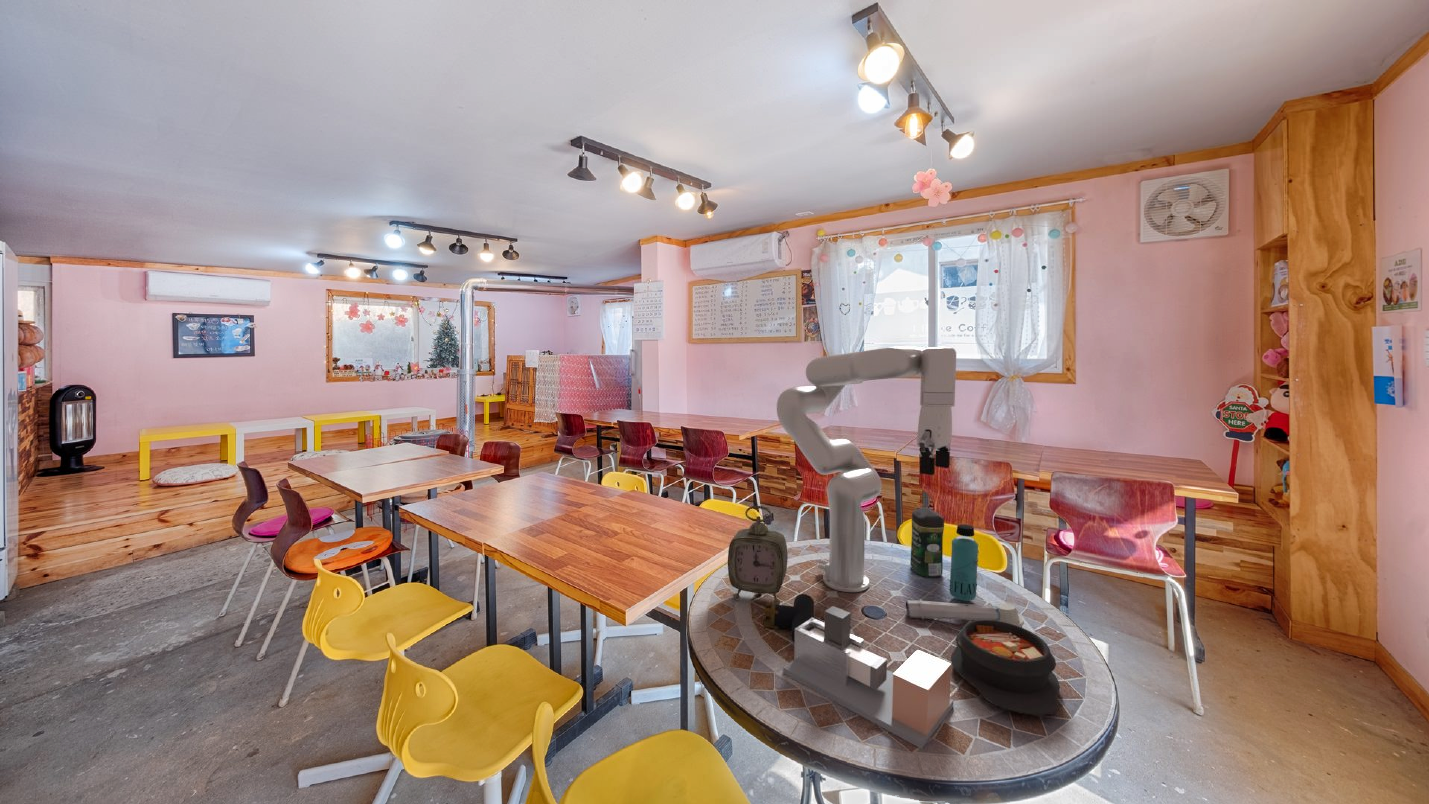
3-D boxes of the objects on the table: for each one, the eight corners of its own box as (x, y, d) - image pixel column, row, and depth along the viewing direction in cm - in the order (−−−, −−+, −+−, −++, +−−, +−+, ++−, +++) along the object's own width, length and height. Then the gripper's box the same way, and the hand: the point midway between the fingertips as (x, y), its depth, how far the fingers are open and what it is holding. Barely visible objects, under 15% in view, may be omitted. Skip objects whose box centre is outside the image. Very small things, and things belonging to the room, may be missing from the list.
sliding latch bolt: (803, 653, 104) (804, 604, 103) (814, 645, 107) (815, 597, 106) (876, 689, 92) (877, 634, 91) (886, 679, 95) (887, 626, 94)
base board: (783, 673, 101) (783, 667, 101) (821, 644, 111) (821, 639, 111) (921, 749, 82) (921, 742, 82) (953, 706, 92) (953, 700, 92)
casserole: (938, 639, 114) (939, 603, 113) (1029, 648, 110) (1031, 612, 109) (969, 716, 89) (971, 671, 88) (1088, 732, 85) (1091, 686, 85)
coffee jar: (906, 564, 154) (908, 505, 152) (932, 564, 153) (934, 505, 152) (918, 578, 144) (920, 515, 142) (946, 578, 144) (948, 515, 142)
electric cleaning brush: (905, 595, 126) (1018, 597, 118) (908, 621, 126) (1021, 625, 118) (905, 605, 121) (1024, 608, 113) (909, 632, 122) (1027, 636, 113)
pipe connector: (762, 620, 112) (768, 589, 127) (761, 642, 113) (767, 609, 128) (814, 626, 110) (814, 594, 125) (813, 649, 111) (813, 614, 125)
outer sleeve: (794, 659, 104) (794, 629, 103) (811, 646, 109) (812, 617, 108) (845, 686, 96) (846, 653, 95) (862, 671, 100) (863, 639, 100)
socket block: (891, 717, 87) (893, 673, 87) (916, 690, 94) (917, 649, 94) (926, 735, 83) (928, 690, 82) (949, 705, 90) (951, 663, 89)
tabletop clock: (727, 602, 131) (727, 508, 129) (736, 586, 140) (736, 498, 137) (783, 609, 127) (783, 513, 124) (788, 593, 135) (789, 502, 133)
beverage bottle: (949, 604, 129) (952, 528, 127) (947, 592, 135) (950, 520, 134) (977, 608, 127) (981, 531, 125) (975, 597, 133) (978, 523, 131)
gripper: (934, 396, 128) (932, 462, 129) (906, 401, 115) (904, 474, 117) (966, 398, 123) (963, 467, 124) (940, 403, 110) (937, 479, 112)
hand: (934, 470), depth 121 cm, fingers open, 9 cm apart
